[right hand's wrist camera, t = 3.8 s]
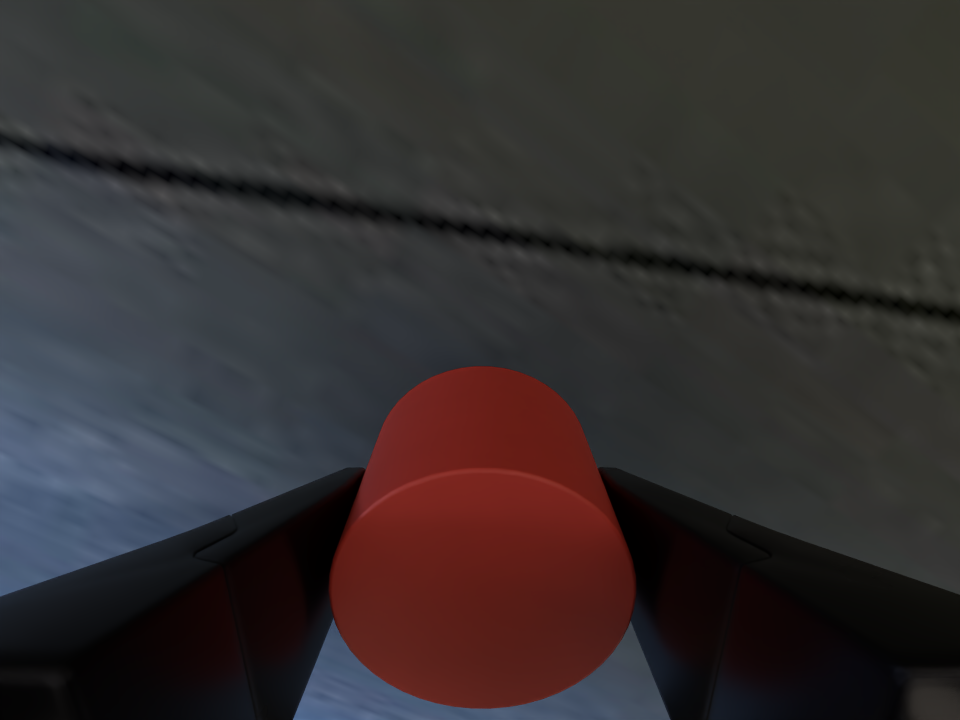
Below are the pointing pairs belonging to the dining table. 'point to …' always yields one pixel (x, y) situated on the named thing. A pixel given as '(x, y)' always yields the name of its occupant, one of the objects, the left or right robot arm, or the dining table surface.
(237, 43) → the dining table surface
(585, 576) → the canister
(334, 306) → the dining table surface
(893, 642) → the right robot arm
